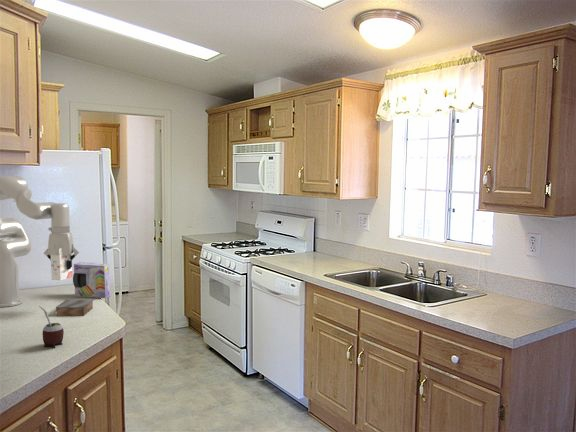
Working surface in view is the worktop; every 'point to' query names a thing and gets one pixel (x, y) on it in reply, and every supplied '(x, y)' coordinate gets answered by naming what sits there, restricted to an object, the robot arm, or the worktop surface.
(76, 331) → the worktop surface
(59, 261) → the ink cartridge box
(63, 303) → the display podium
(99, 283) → the cake pan box
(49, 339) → the mate gourd
